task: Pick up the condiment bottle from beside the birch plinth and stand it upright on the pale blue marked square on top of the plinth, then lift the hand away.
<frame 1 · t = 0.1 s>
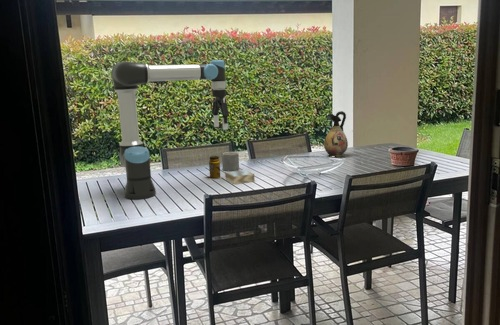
hand: (220, 128, 250), 28 cm above the table, tool pointing down, fingers open, 13 cm apart
ceramic jug: (337, 156, 303), on the table
condiment: (213, 178, 255), on the table
plinth: (239, 180, 247), on the table
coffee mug: (230, 169, 275), on the table
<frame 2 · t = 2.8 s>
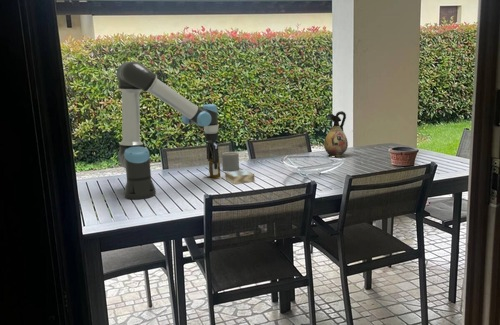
hand: (213, 173, 255), 2 cm above the table, tool pointing down, fingers closed on condiment, 6 cm apart
condiment: (213, 177, 255), on the table, touching gripper
everything else where it was.
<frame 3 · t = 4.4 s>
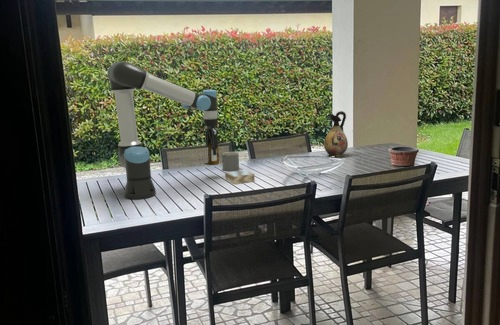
hand: (212, 159, 253), 10 cm above the table, tool pointing down, fingers closed on condiment, 6 cm apart
condiment: (212, 164, 253), point 8 cm above the table, touching gripper
everything else where it was.
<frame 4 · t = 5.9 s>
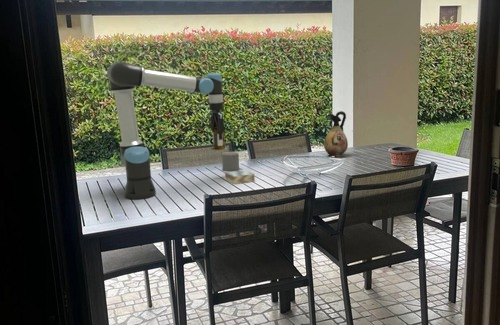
hand: (218, 144, 249), 19 cm above the table, tool pointing down, fingers closed on condiment, 6 cm apart
condiment: (218, 149, 250), point 16 cm above the table, touching gripper
everything else where it was.
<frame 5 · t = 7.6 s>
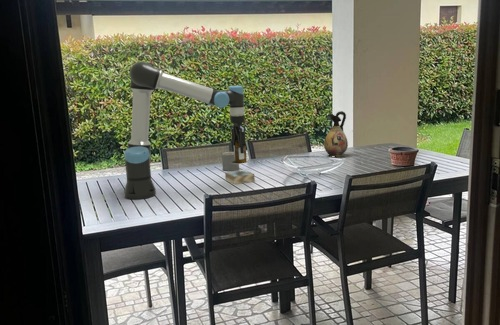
hand: (239, 158, 244), 12 cm above the table, tool pointing down, fingers closed on condiment, 6 cm apart
condiment: (239, 162, 245), point 10 cm above the table, touching gripper
everything else where it was.
when the fingers open (8 cm above the table, at t = 8.8 s): condiment drops 1 cm, resting on plinth.
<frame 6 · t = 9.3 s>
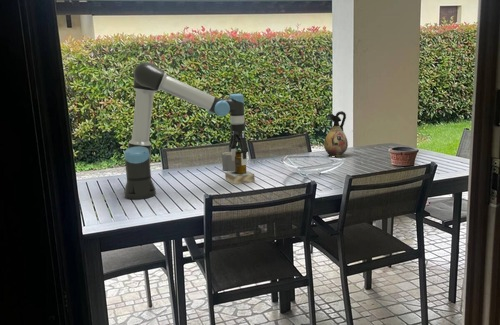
hand: (239, 162, 244), 10 cm above the table, tool pointing down, fingers open, 13 cm apart
condiment: (239, 173, 246), point 4 cm above the table, touching plinth
everything else where it was.
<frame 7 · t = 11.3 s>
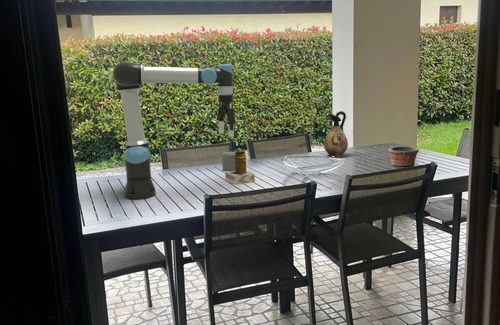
hand: (226, 135, 240), 25 cm above the table, tool pointing down, fingers open, 13 cm apart
nothing on the table moved.
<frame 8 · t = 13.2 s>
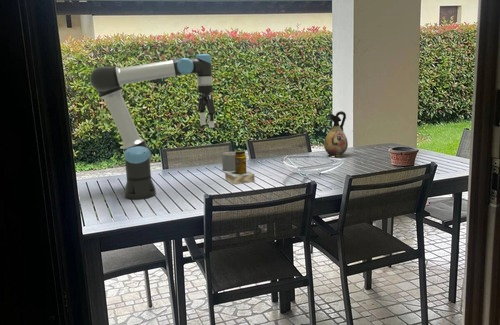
hand: (207, 126, 236), 31 cm above the table, tool pointing down, fingers open, 13 cm apart
nothing on the table moved.
at the end: condiment inside the target area on the plinth (0.0 cm from its centre), point 3.9 cm above the plinth's base; condiment tilted 0°; the gripper is holding nothing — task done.
